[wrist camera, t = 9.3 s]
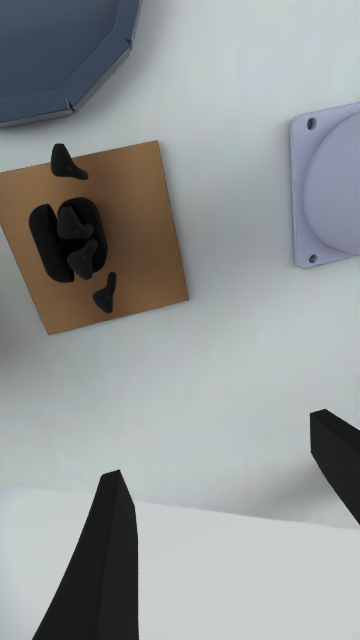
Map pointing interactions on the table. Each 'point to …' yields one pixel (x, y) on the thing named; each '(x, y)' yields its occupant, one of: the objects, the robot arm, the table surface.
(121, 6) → the plate
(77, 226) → the wireless earbuds
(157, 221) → the cork coaster
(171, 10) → the table surface
